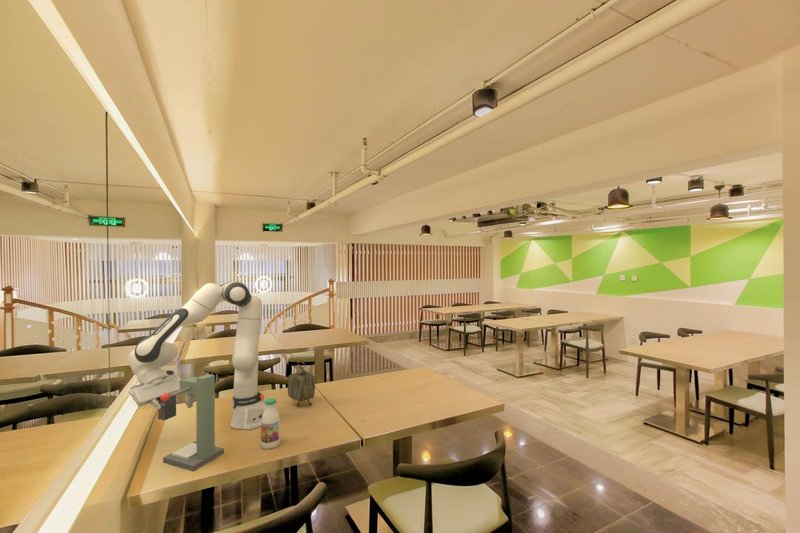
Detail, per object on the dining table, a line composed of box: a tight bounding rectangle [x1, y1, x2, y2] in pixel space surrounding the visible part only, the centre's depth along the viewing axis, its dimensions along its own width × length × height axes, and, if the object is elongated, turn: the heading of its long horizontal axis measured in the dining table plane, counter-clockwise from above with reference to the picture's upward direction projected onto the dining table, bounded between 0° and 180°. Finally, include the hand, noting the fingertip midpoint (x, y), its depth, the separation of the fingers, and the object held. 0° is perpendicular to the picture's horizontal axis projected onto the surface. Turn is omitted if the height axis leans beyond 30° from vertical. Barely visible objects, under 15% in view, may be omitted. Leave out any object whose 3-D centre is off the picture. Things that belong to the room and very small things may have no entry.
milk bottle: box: [260, 397, 281, 450], centre depth 152 cm, size 8×8×20 cm
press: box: [160, 374, 225, 472], centre depth 139 cm, size 17×22×34 cm
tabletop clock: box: [287, 360, 316, 407], centre depth 197 cm, size 14×9×25 cm, turn 49°
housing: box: [157, 395, 177, 421], centre depth 148 cm, size 5×4×9 cm
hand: (168, 405), depth 148 cm, fingers closed on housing, 5 cm apart
